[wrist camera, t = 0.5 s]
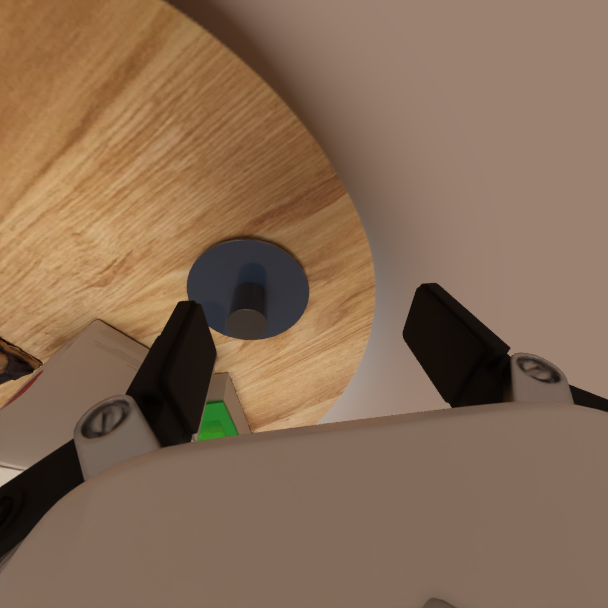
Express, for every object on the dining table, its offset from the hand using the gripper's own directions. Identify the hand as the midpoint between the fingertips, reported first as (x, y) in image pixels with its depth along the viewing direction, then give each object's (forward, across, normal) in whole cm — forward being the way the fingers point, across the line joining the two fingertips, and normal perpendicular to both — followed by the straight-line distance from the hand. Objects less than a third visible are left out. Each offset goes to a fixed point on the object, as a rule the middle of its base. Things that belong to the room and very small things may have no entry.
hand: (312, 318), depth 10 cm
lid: (+16, +5, +8) cm, 18 cm away
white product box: (+16, +24, +17) cm, 34 cm away
